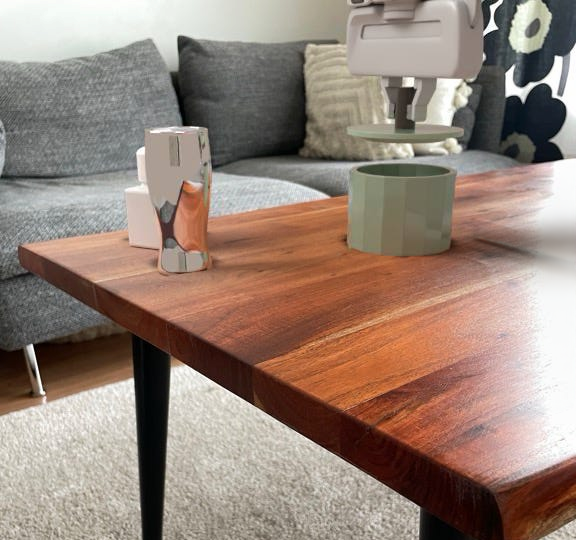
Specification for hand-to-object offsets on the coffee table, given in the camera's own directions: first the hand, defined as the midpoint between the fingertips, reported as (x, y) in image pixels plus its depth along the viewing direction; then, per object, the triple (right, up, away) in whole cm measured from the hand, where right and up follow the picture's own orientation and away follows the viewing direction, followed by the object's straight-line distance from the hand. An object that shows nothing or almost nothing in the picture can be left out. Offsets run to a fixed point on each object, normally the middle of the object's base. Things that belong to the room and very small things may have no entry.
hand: (405, 120), depth 84 cm
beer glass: (-25, -18, -3) cm, 31 cm away
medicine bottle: (-29, -13, +9) cm, 33 cm away
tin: (0, -14, +6) cm, 15 cm away
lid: (0, -1, +1) cm, 2 cm away
